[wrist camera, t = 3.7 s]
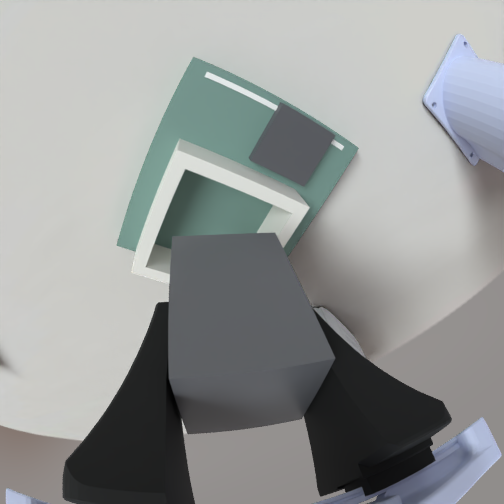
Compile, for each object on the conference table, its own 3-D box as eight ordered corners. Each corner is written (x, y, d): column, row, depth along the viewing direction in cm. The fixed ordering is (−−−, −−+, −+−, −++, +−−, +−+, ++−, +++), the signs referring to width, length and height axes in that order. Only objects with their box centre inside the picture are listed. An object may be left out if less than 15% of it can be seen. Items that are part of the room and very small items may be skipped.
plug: (275, 232, 11) (335, 358, 7) (263, 311, 14) (298, 423, 9) (172, 236, 11) (168, 378, 6) (181, 318, 13) (189, 438, 8)
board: (351, 143, 17) (380, 161, 14) (261, 281, 22) (273, 314, 19) (193, 58, 12) (193, 53, 10) (119, 236, 18) (108, 269, 15)
